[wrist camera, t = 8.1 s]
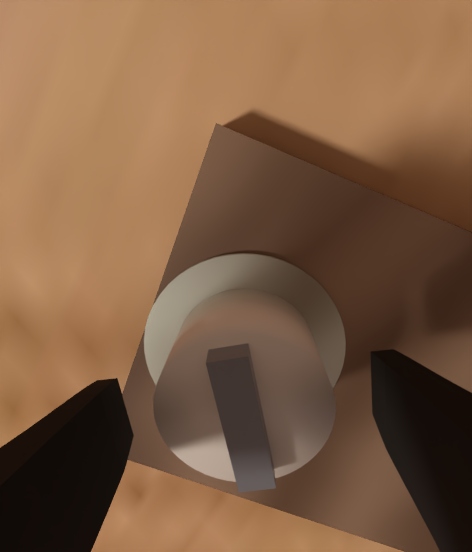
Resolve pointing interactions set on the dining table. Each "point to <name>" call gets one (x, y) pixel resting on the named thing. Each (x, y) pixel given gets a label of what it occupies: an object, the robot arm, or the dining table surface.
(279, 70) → the dining table surface
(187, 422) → the knob
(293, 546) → the dining table surface
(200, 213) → the base
